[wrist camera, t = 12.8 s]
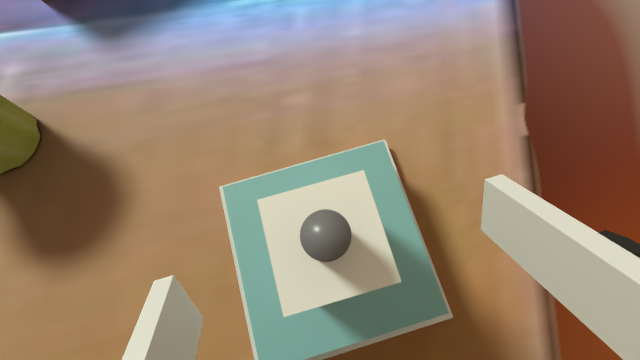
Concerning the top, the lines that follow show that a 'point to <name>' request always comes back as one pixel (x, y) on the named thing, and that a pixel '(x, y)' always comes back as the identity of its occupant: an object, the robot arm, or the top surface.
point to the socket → (348, 314)
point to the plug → (326, 243)
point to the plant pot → (16, 135)
